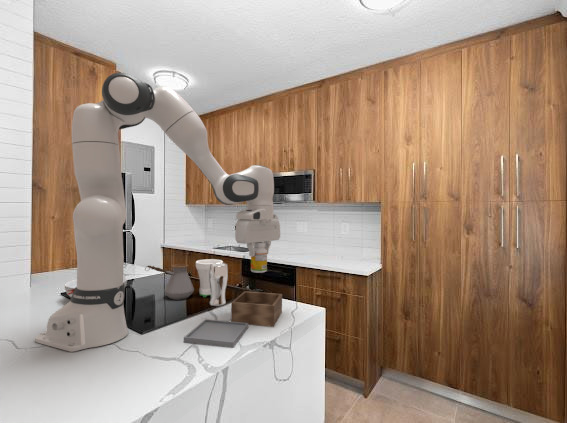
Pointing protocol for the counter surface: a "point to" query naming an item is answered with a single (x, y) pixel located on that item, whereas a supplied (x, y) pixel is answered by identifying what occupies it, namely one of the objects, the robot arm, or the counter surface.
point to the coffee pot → (177, 282)
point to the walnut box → (257, 308)
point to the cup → (205, 275)
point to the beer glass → (218, 283)
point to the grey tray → (217, 333)
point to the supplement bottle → (259, 258)
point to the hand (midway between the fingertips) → (259, 255)
